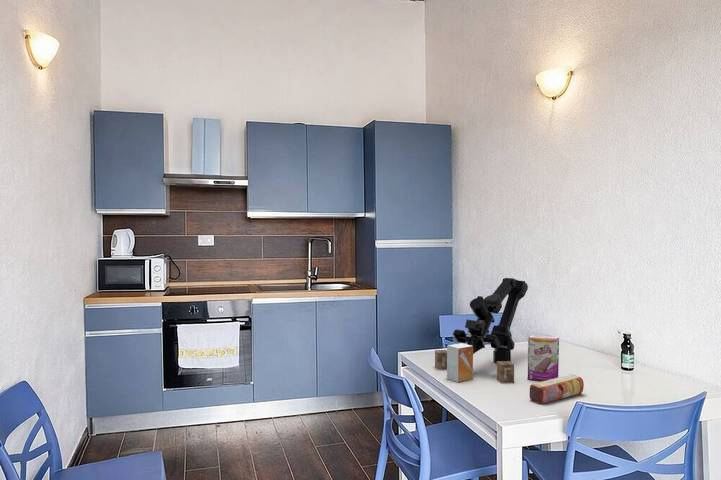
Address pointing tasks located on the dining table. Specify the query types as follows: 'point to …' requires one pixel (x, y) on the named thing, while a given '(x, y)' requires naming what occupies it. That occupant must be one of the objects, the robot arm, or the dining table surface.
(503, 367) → the walnut block seven
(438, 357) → the walnut block one
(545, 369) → the candy bar box
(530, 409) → the dining table surface
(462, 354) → the small box
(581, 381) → the snack package
